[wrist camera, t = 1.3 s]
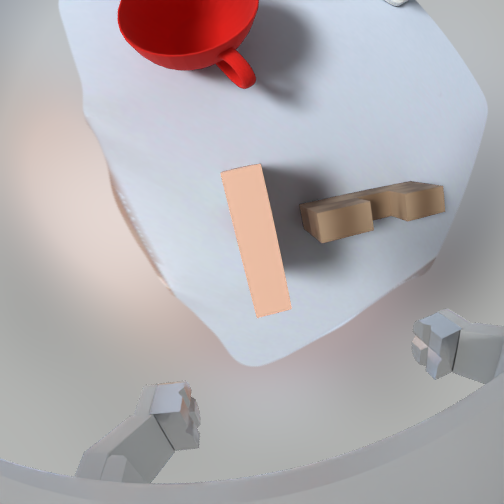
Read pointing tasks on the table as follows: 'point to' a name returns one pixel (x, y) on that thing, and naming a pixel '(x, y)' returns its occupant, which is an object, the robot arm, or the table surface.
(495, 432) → the robot arm
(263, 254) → the peach notched block
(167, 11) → the ceramic cup
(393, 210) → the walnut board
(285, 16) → the table surface
